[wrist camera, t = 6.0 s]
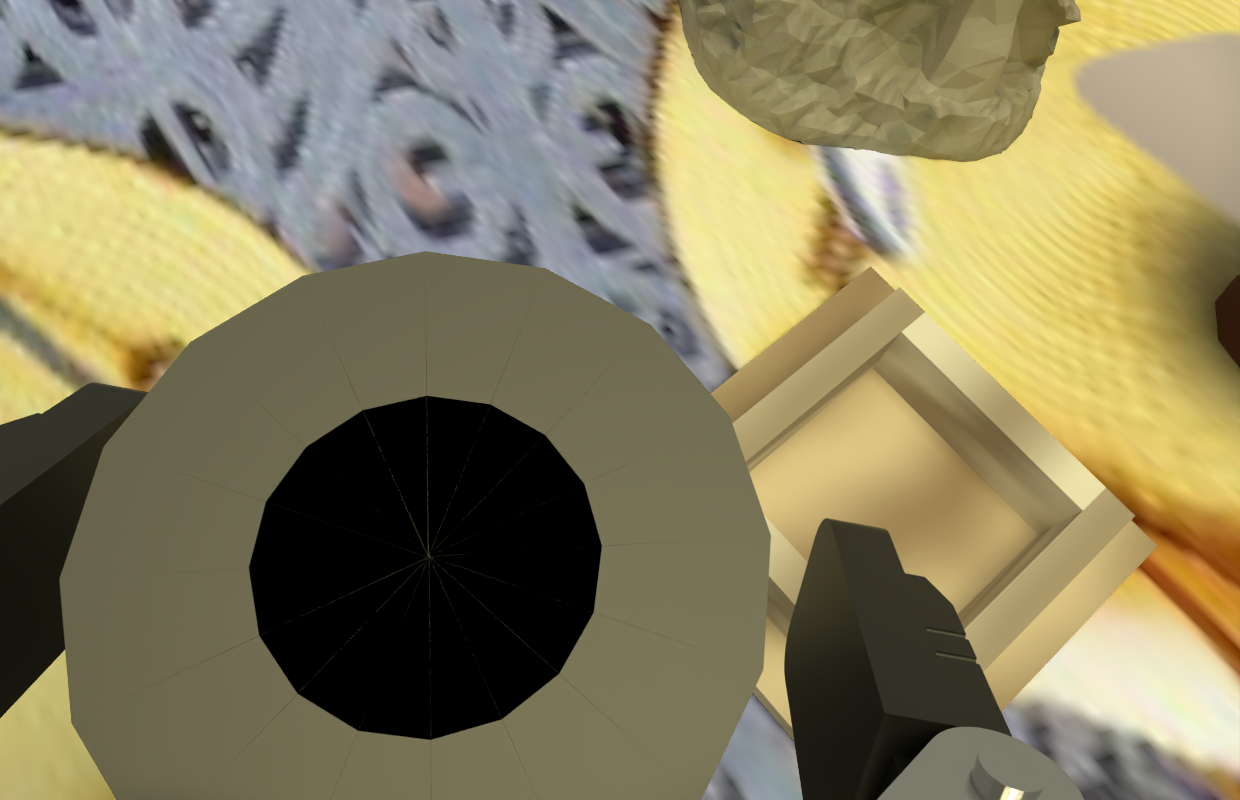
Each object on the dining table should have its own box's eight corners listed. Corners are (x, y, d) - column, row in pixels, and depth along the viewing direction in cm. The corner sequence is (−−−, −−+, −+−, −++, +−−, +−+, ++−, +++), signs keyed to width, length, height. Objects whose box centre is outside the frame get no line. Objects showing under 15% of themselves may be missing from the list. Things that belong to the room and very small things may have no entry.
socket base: (586, 499, 34) (592, 462, 31) (862, 279, 39) (897, 223, 35) (873, 833, 31) (920, 838, 27) (1141, 552, 35) (1212, 523, 32)
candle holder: (404, 645, 32) (73, 236, 9) (596, 631, 33) (752, 218, 10) (405, 855, 30) (-41, 1046, 7) (611, 836, 30) (864, 948, 7)
